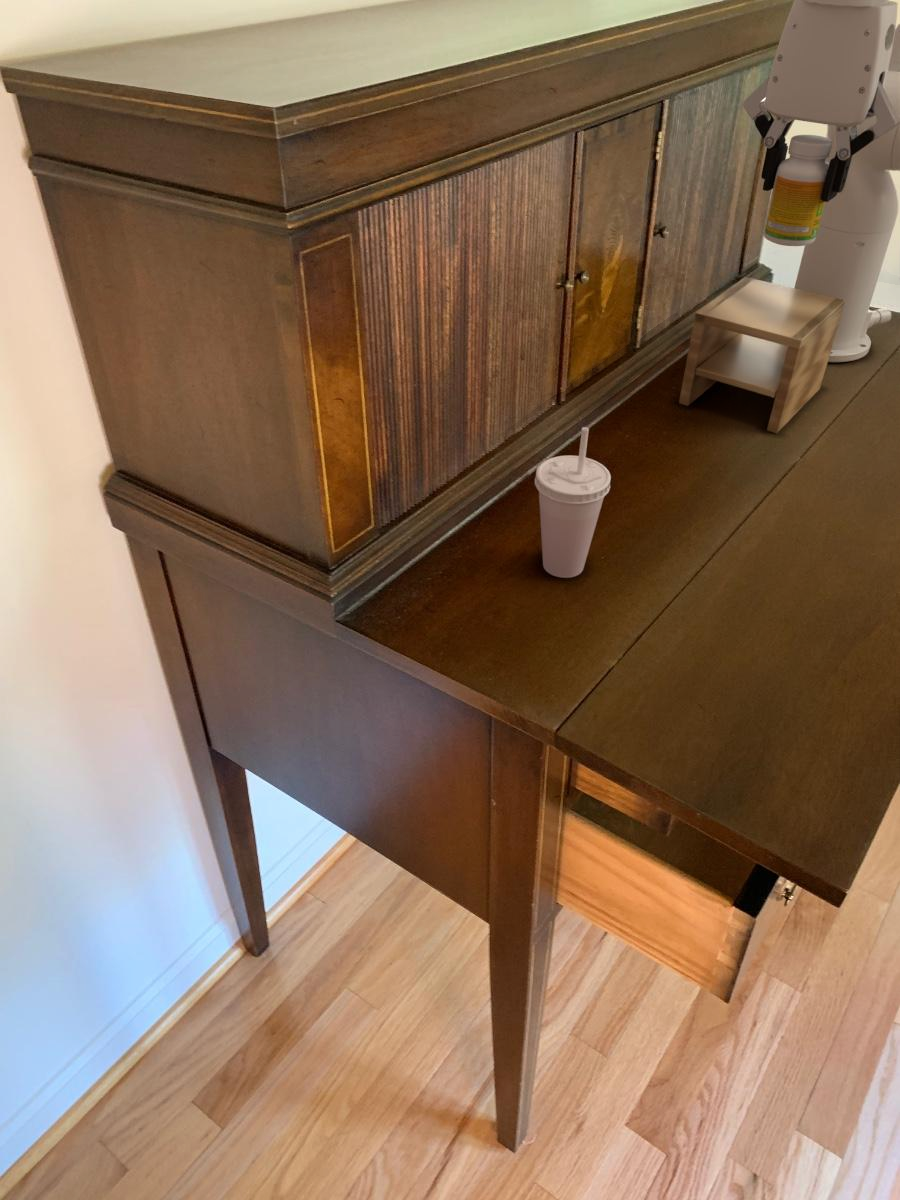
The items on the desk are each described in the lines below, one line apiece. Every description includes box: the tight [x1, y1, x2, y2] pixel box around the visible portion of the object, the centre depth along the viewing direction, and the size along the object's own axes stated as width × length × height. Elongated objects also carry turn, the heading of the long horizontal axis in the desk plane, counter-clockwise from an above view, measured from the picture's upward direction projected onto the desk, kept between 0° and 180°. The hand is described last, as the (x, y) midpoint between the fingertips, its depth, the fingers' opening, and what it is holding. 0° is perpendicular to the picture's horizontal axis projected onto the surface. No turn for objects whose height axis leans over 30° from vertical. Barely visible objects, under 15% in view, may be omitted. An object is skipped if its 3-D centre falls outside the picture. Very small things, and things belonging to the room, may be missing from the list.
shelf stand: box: [678, 276, 845, 434], centre depth 106 cm, size 14×12×11 cm
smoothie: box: [534, 426, 612, 579], centre depth 79 cm, size 6×6×14 cm
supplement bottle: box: [762, 134, 832, 247], centre depth 94 cm, size 5×5×10 cm
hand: (799, 191), depth 94 cm, fingers closed on supplement bottle, 5 cm apart
